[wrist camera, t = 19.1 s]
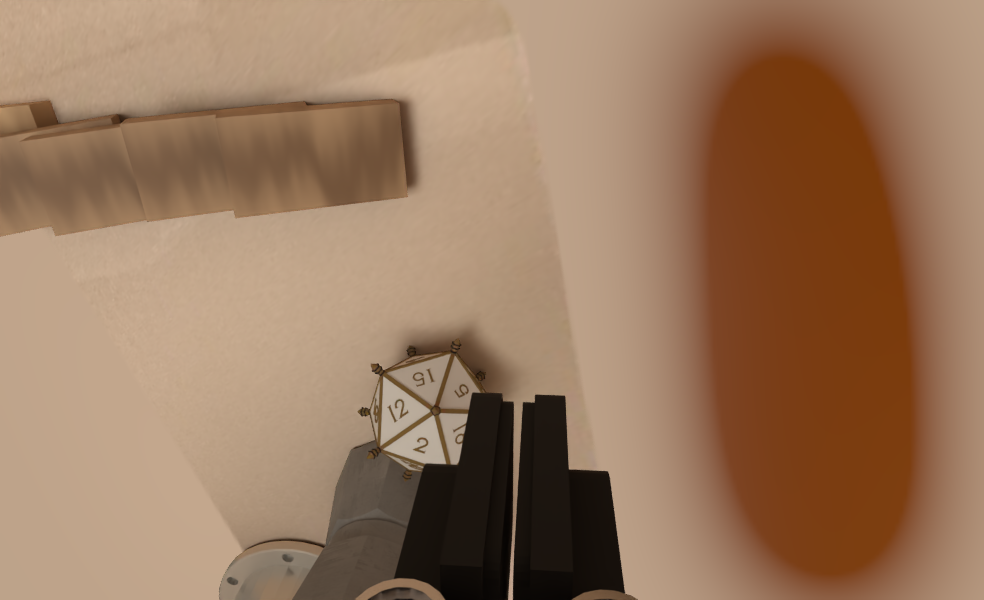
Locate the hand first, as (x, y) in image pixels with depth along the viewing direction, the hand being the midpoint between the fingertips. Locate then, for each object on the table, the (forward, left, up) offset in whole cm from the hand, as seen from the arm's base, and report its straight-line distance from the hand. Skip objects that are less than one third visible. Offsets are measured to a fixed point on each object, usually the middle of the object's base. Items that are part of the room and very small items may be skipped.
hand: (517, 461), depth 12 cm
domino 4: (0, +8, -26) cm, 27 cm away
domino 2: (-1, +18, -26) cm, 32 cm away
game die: (-15, +6, -27) cm, 32 cm away
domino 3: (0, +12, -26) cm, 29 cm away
